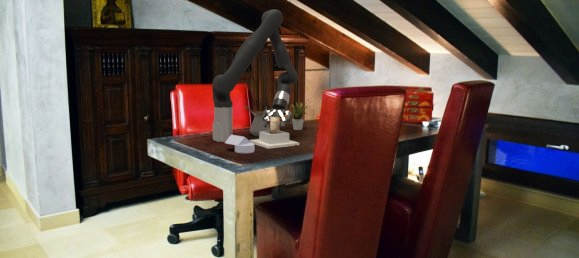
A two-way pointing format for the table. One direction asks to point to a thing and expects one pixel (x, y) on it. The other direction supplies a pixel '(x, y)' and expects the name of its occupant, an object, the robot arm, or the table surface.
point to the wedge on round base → (241, 144)
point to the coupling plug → (274, 125)
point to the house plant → (298, 120)
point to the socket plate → (273, 140)
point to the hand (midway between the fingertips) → (273, 127)
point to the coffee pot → (257, 123)
